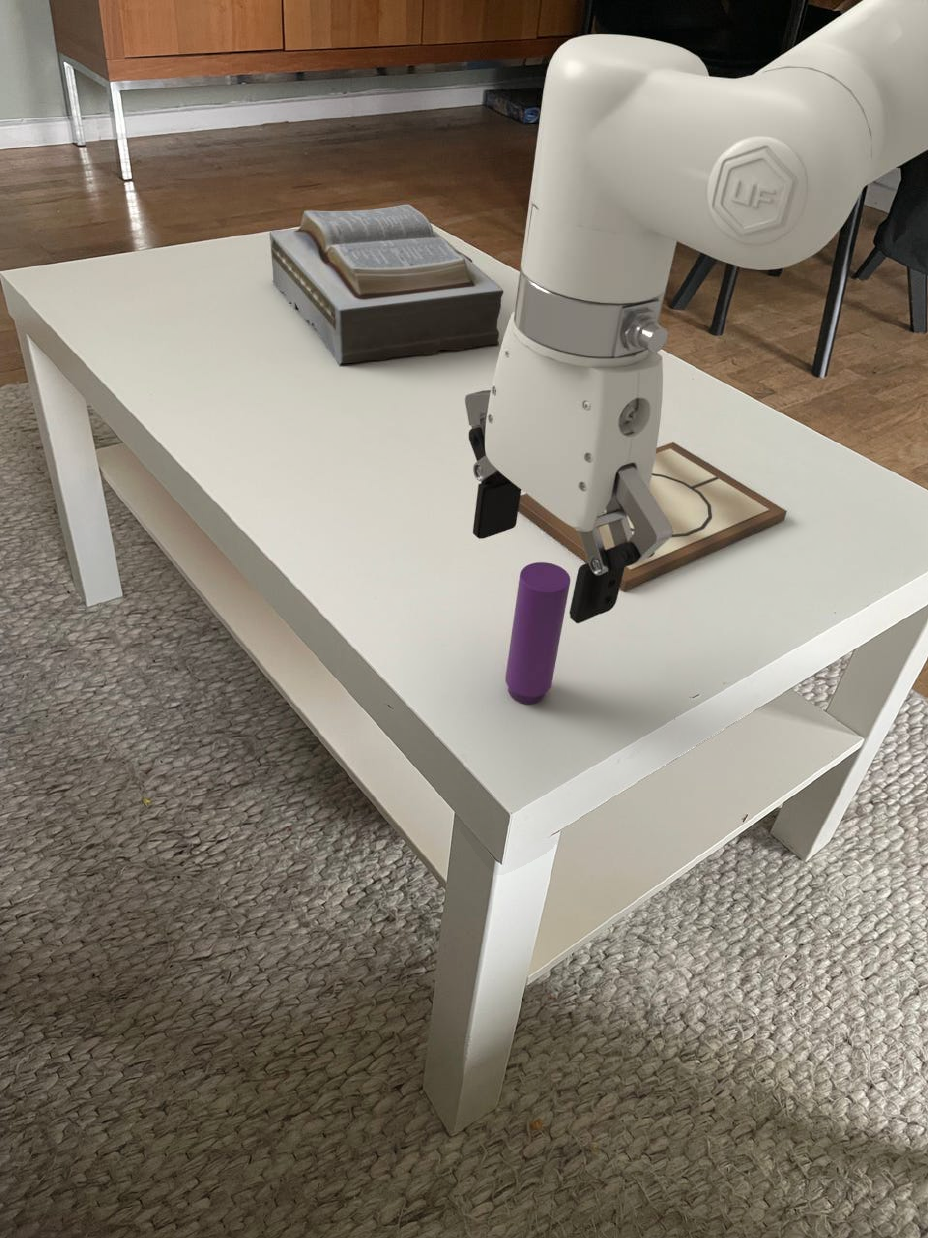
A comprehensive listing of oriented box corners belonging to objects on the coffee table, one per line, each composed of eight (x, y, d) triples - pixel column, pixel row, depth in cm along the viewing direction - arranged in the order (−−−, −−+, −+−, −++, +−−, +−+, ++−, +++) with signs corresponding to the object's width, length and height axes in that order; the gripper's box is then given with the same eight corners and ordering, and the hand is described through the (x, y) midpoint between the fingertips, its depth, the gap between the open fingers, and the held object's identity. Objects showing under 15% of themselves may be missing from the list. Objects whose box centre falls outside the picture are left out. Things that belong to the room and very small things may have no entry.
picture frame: (671, 450, 98) (673, 440, 97) (783, 520, 90) (787, 509, 89) (512, 507, 88) (514, 495, 87) (623, 591, 80) (626, 580, 79)
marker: (553, 681, 71) (574, 567, 64) (545, 712, 68) (566, 596, 62) (508, 671, 71) (525, 557, 65) (499, 701, 69) (515, 586, 62)
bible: (448, 268, 131) (454, 189, 125) (509, 359, 111) (519, 270, 105) (267, 271, 125) (264, 189, 119) (297, 368, 105) (295, 275, 99)
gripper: (759, 364, 49) (679, 629, 60) (538, 244, 59) (504, 489, 70) (650, 396, 46) (586, 672, 56) (434, 262, 56) (415, 518, 67)
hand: (540, 570), depth 63 cm, fingers open, 9 cm apart
